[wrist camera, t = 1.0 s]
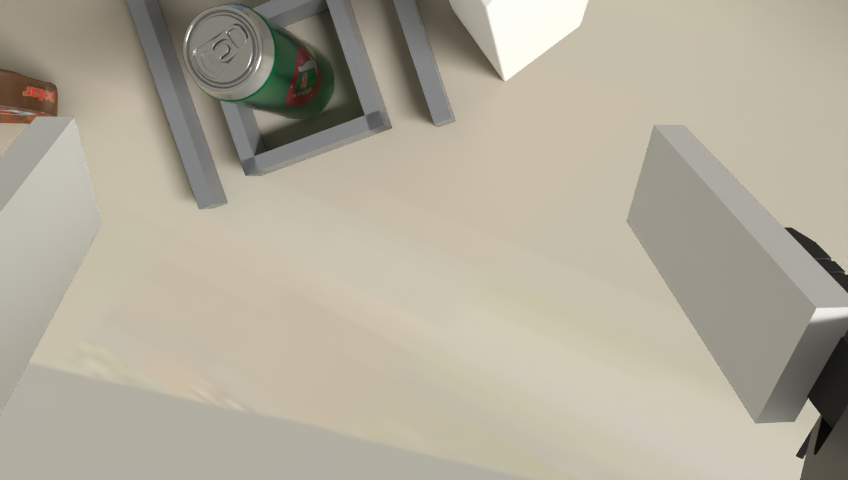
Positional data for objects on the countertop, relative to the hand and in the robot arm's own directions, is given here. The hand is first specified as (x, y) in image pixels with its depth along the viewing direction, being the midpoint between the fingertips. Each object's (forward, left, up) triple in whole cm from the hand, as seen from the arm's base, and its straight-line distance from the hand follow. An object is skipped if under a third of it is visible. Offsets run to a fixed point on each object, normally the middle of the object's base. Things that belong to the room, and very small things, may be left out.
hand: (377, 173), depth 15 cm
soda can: (+9, -10, -29) cm, 32 cm away
